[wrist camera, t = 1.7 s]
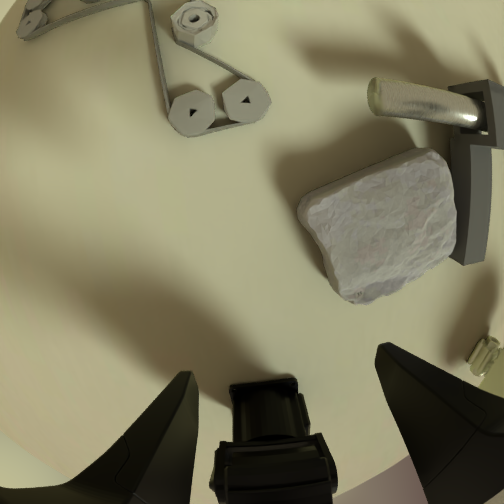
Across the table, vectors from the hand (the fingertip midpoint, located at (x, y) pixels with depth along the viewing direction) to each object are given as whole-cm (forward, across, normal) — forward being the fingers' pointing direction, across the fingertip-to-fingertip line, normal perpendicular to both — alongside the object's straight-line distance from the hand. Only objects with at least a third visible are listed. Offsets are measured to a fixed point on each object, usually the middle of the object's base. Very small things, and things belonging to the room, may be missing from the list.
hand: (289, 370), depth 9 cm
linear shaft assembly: (+12, -19, -10) cm, 25 cm away
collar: (+11, -18, -5) cm, 21 cm away
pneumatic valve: (+12, -29, +18) cm, 36 cm away
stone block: (+13, -10, -1) cm, 16 cm away
